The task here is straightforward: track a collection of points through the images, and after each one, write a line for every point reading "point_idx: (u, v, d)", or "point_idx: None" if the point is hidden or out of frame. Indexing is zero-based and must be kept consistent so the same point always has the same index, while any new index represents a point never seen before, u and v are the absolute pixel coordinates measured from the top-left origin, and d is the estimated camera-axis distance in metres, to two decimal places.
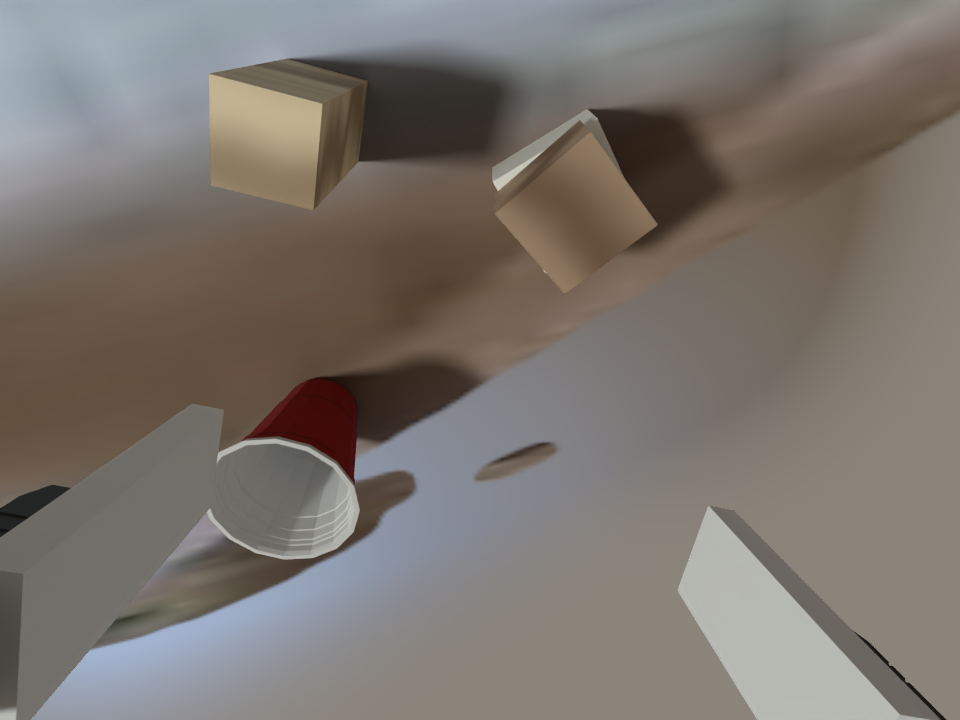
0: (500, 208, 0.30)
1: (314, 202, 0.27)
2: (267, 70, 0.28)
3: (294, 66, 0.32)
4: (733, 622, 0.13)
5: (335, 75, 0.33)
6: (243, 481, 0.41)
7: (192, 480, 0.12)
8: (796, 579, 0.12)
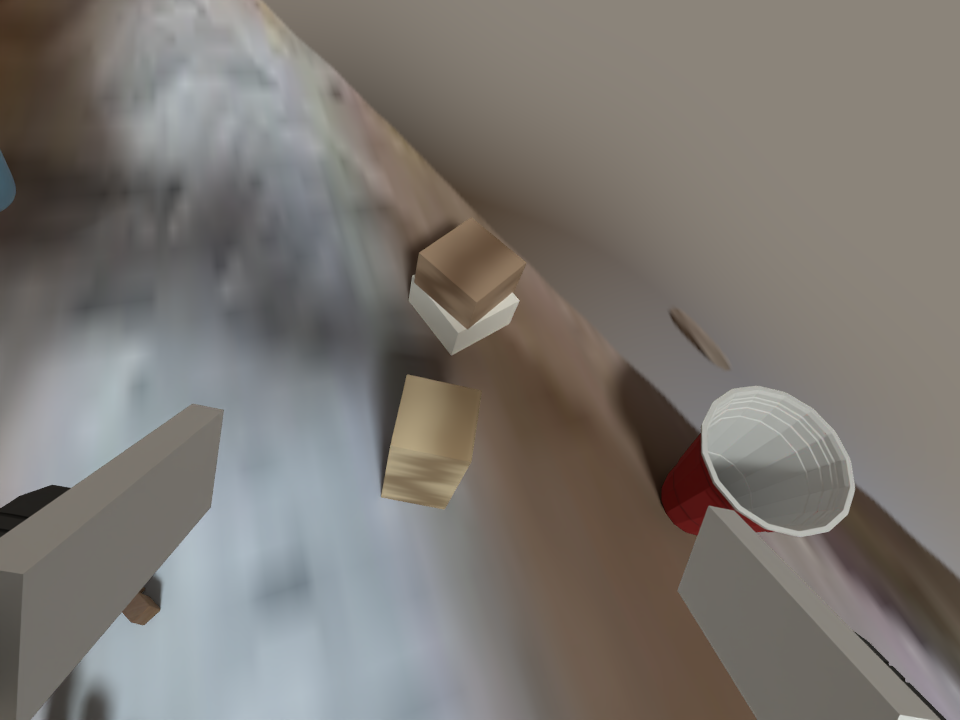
0: (472, 300, 0.44)
1: (476, 390, 0.36)
2: None
3: None
4: (733, 622, 0.13)
5: None
6: (782, 525, 0.38)
7: (192, 480, 0.12)
8: (796, 579, 0.12)
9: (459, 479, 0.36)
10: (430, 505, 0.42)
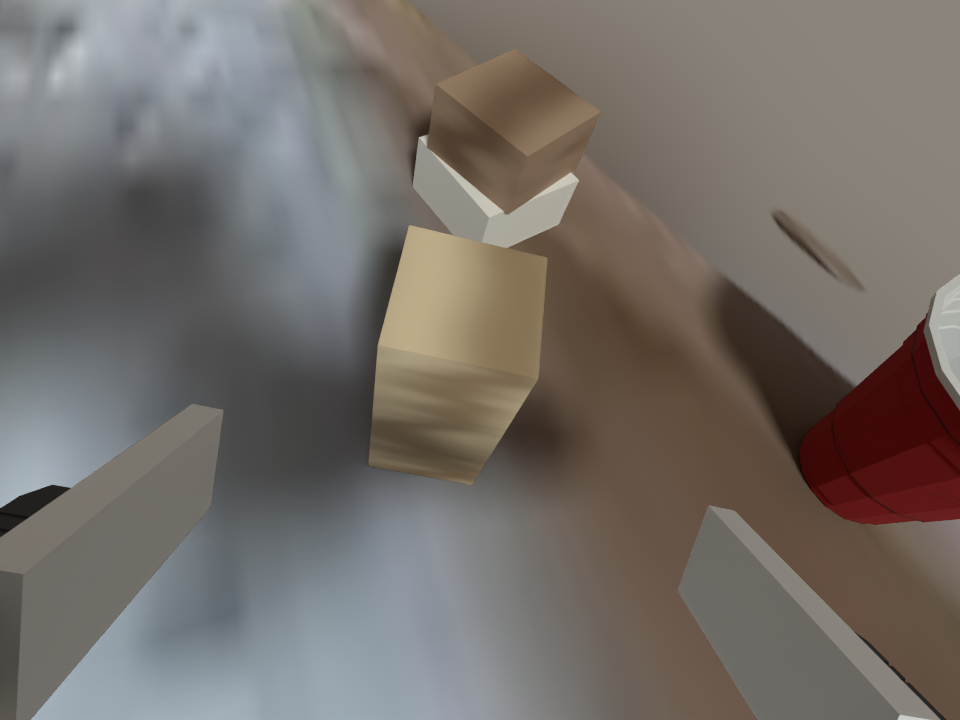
0: (520, 154, 0.27)
1: (536, 257, 0.20)
2: None
3: None
4: (733, 622, 0.13)
5: None
6: None
7: (192, 480, 0.12)
8: (796, 579, 0.12)
9: (507, 422, 0.20)
10: (449, 478, 0.26)
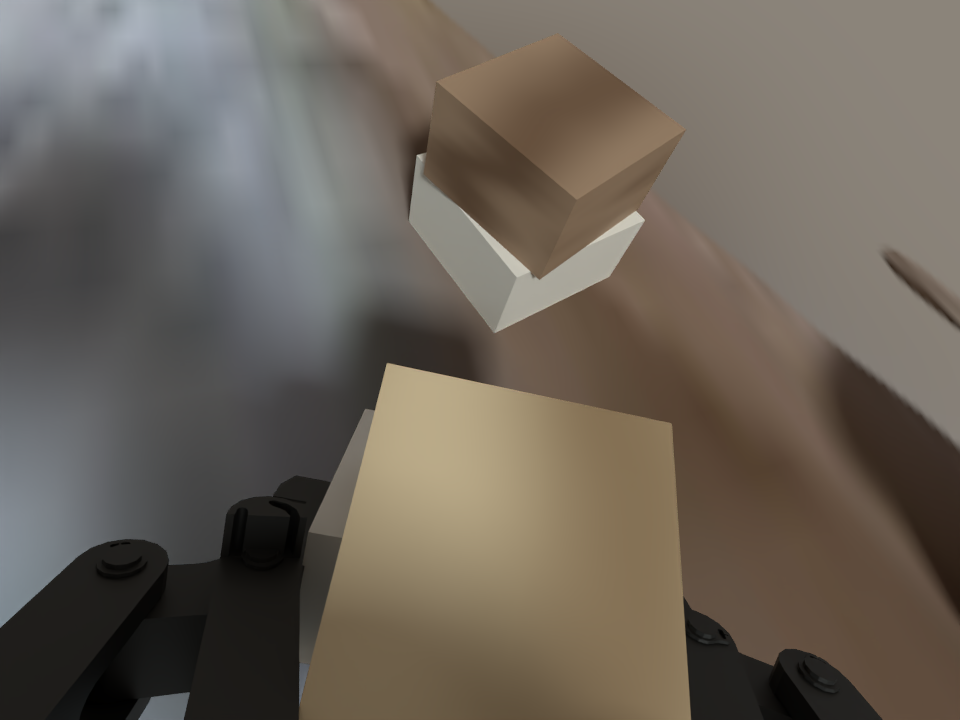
0: (565, 195, 0.17)
1: (649, 422, 0.10)
2: None
3: None
4: None
5: None
6: None
7: None
8: None
9: None
10: None
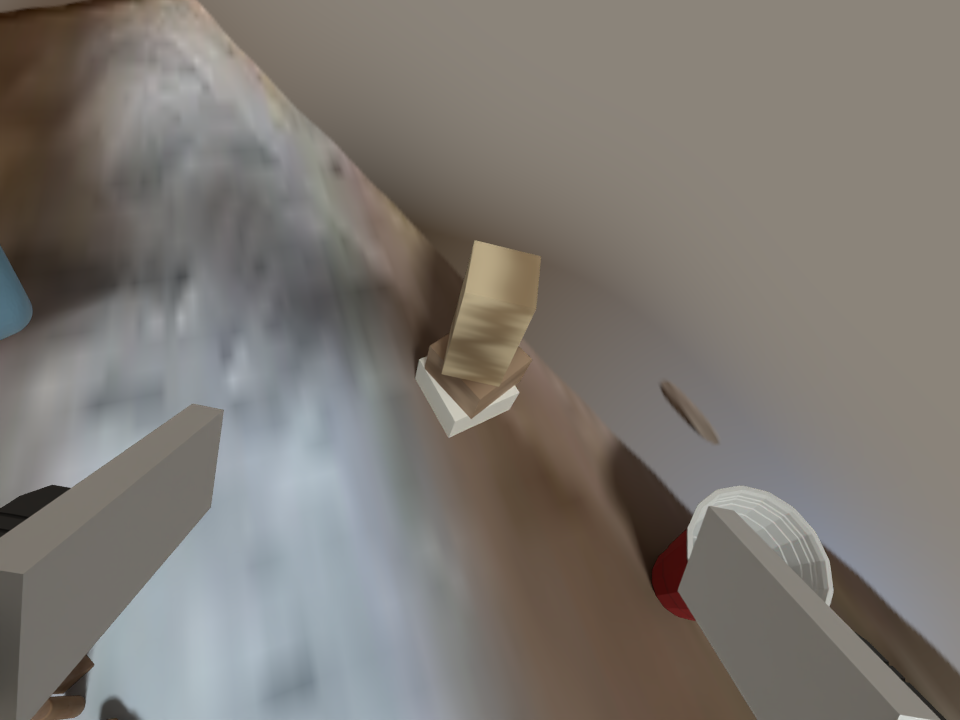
0: (476, 396, 0.46)
1: None
2: (454, 323, 0.41)
3: (447, 347, 0.45)
4: (733, 622, 0.13)
5: (450, 332, 0.47)
6: None
7: (192, 480, 0.12)
8: (796, 579, 0.12)
9: (520, 337, 0.40)
10: (486, 382, 0.46)
